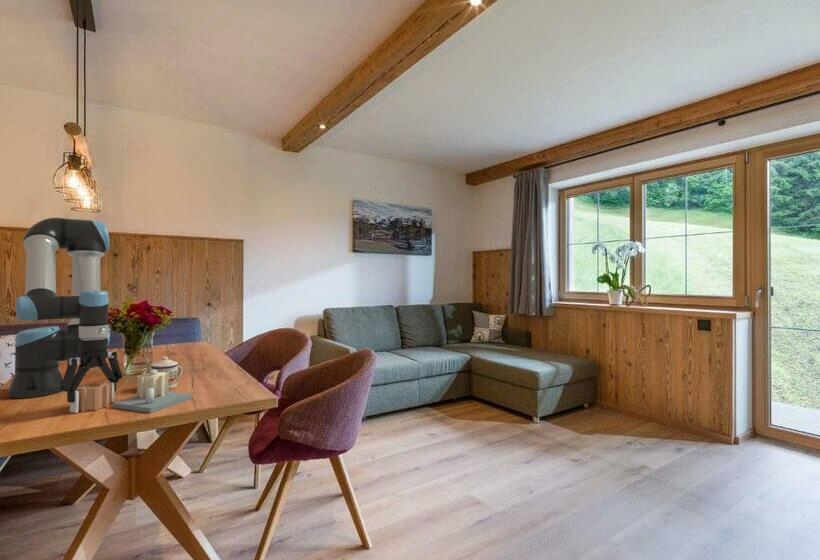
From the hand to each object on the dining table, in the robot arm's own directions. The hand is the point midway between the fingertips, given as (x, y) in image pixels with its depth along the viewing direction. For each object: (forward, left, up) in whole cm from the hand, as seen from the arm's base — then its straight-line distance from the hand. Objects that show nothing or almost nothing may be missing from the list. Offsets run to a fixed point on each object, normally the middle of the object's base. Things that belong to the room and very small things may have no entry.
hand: (92, 406), depth 130 cm
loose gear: (0, 0, 0) cm, 0 cm away
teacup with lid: (+1, +27, 0) cm, 27 cm away
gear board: (+14, +10, 0) cm, 17 cm away
